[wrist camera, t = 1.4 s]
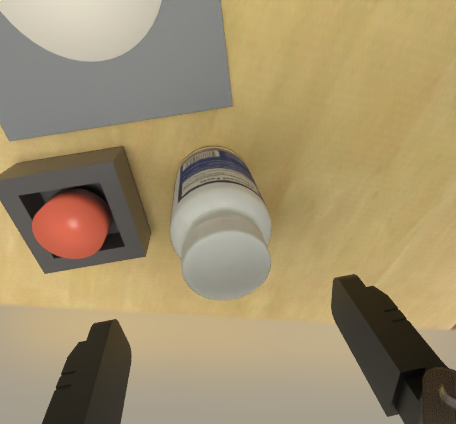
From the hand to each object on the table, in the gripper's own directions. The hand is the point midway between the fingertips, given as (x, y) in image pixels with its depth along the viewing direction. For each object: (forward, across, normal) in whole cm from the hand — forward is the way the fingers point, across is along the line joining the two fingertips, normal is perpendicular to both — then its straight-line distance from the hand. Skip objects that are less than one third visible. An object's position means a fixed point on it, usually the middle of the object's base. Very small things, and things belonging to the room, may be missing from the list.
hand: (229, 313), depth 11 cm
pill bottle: (+12, 0, 0) cm, 12 cm away
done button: (+10, +9, 0) cm, 13 cm away
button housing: (+12, +9, 0) cm, 15 cm away
